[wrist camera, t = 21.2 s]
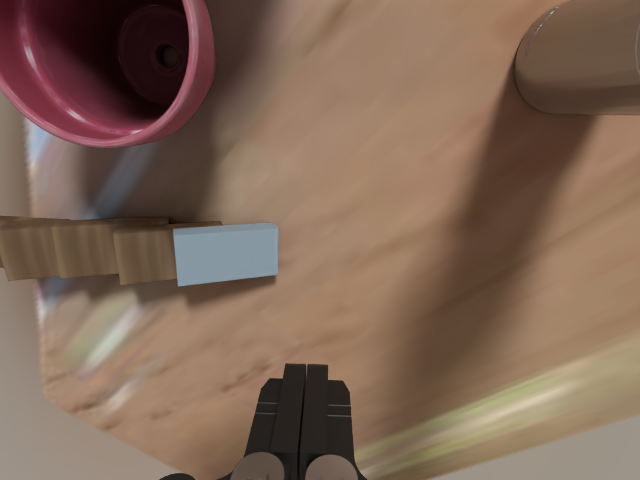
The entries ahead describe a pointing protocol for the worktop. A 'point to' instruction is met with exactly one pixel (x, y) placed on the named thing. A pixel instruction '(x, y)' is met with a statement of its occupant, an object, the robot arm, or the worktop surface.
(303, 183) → the worktop surface
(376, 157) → the worktop surface
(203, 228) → the domino
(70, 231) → the domino
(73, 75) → the plant pot
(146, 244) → the domino
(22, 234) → the domino
